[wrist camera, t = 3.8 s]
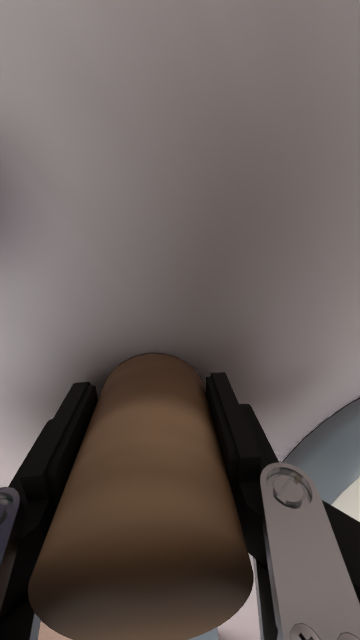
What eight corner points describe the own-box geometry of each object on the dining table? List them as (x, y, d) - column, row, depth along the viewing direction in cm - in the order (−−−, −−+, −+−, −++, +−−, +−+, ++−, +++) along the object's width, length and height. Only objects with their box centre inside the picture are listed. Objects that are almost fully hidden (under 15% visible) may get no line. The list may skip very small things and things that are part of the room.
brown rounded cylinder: (94, 357, 10) (-2, 534, 4) (205, 349, 10) (261, 508, 4) (109, 443, 11) (55, 659, 6) (205, 435, 11) (247, 635, 6)
